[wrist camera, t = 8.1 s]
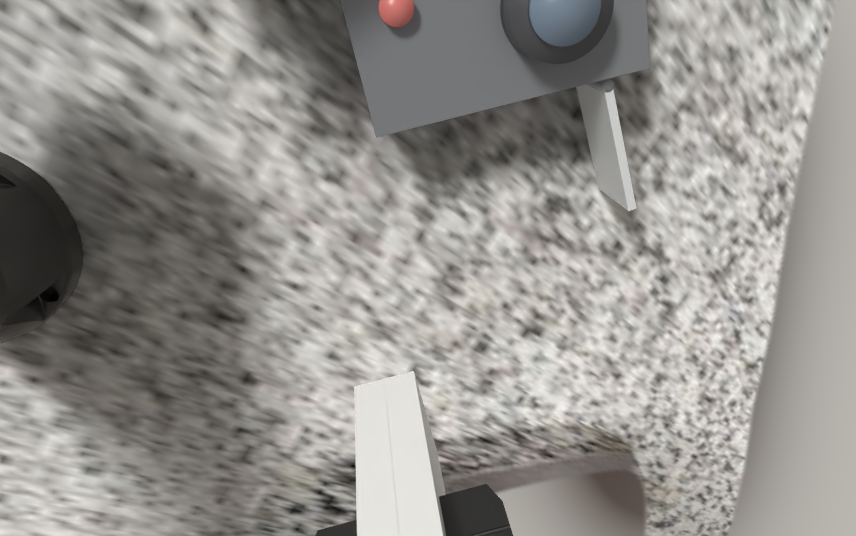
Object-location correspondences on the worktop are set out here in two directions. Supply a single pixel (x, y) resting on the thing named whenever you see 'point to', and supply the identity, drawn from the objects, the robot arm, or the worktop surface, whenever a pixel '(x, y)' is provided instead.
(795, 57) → the worktop surface
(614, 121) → the side door
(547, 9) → the camera body
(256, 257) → the worktop surface
